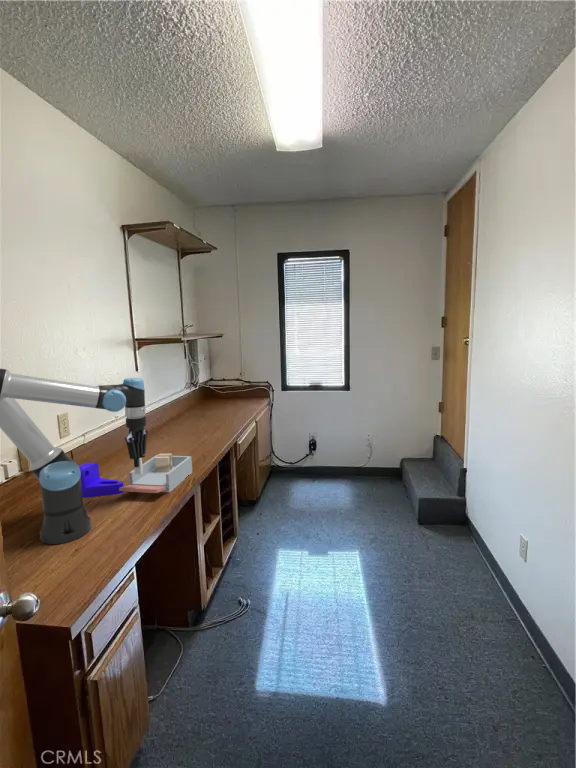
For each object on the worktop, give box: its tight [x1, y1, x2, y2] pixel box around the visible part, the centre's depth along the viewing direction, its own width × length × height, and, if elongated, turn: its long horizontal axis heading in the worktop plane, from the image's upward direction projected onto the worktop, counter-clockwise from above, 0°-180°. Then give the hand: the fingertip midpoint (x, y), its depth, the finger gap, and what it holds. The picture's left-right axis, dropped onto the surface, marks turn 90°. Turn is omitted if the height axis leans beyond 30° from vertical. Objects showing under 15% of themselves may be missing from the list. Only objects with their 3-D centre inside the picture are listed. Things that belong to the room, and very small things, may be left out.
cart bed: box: [128, 454, 193, 493], centre depth 173 cm, size 24×19×8 cm
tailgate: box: [119, 484, 166, 494], centre depth 158 cm, size 8×16×2 cm, turn 80°
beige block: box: [155, 453, 173, 473], centre depth 179 cm, size 6×6×7 cm
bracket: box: [78, 462, 125, 499], centre depth 163 cm, size 18×11×12 cm, turn 85°
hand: (138, 473), depth 156 cm, fingers closed
